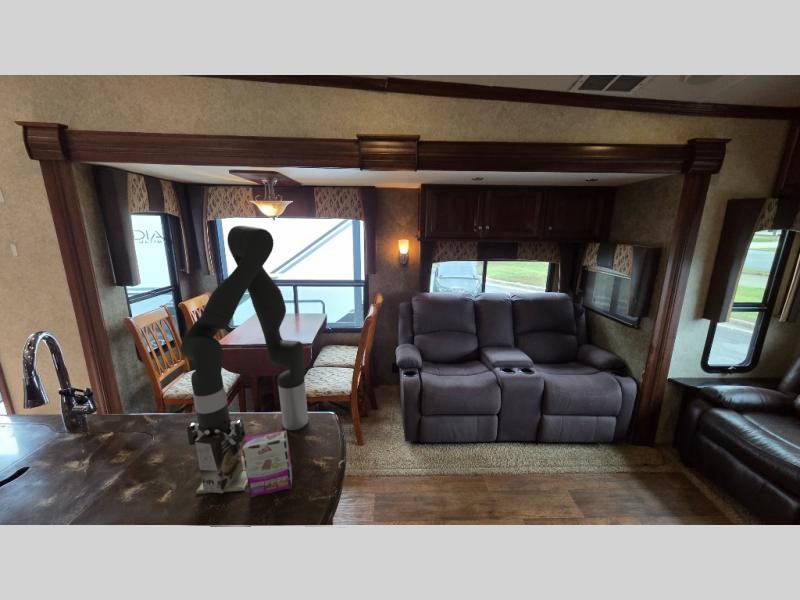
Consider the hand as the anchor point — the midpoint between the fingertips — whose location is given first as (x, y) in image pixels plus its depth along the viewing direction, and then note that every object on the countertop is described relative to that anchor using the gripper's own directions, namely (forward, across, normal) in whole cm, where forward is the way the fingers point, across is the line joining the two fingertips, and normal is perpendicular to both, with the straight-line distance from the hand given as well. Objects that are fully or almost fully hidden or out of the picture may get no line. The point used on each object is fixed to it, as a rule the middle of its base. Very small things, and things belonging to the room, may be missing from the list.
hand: (220, 454), depth 90 cm
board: (+10, 0, -3) cm, 11 cm away
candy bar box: (+10, -14, +3) cm, 18 cm away
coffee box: (+9, 0, 0) cm, 9 cm away
